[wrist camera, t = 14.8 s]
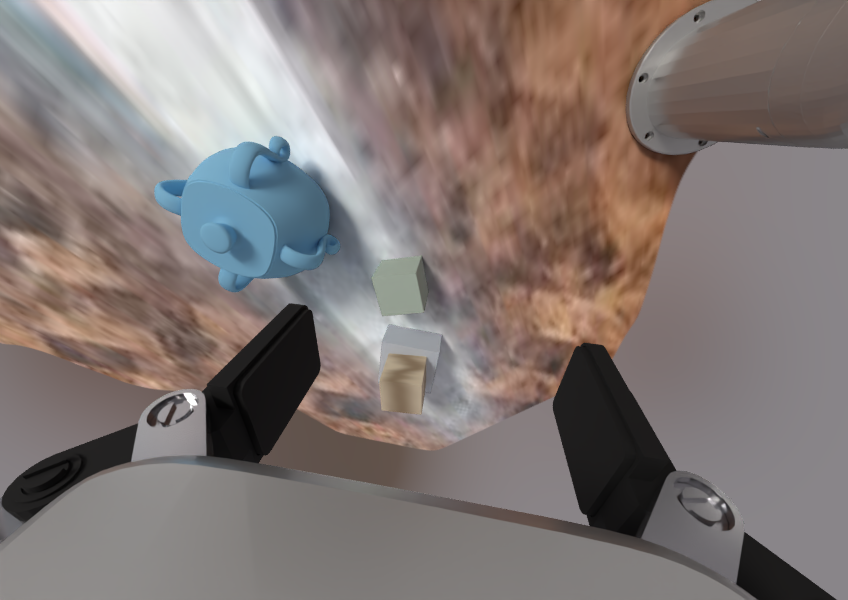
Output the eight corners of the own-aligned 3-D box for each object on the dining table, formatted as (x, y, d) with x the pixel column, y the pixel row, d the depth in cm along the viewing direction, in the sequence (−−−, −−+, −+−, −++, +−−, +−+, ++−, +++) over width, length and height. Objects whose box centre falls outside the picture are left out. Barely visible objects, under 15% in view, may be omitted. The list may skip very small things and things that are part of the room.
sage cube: (421, 255, 44) (415, 272, 38) (428, 291, 46) (423, 312, 41) (382, 260, 45) (371, 277, 40) (391, 295, 48) (382, 316, 42)
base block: (441, 333, 50) (439, 352, 46) (433, 372, 55) (430, 393, 51) (389, 323, 51) (381, 341, 46) (385, 362, 55) (378, 382, 51)
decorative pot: (261, 268, 48) (196, 315, 36) (203, 160, 40) (98, 176, 29) (355, 251, 45) (316, 296, 33) (311, 129, 37) (240, 132, 25)
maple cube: (426, 356, 47) (421, 385, 42) (425, 384, 50) (421, 414, 45) (388, 353, 47) (379, 381, 42) (390, 381, 50) (381, 410, 45)
